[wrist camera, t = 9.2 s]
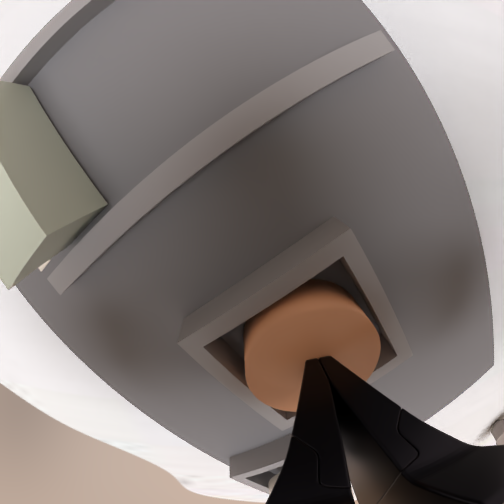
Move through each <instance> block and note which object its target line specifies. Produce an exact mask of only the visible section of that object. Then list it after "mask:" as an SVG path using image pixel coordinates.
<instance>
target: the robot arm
mask: <svg viewBox="0 0 504 504" xmlns="http://www.w3.org/2000/svg"><path fill="white" fill-rule="evenodd" d="M350 481H351V483H350ZM351 484H352V487H353V489H354V492H355V495H356V498H357V500H358V503H359V504H504V445H494V446H474V445H470V444H467V443H464V442H462V441H460V440H458V439H456V438H454V437H452V436H450V435H448V434H446V433H444V432H442V431H440V430H438V429H436V428H434V427H432V426H430V425H428V424H426V423H425V422H423V421H421V420H420V419H418V418H417V417H415V416H414V415H412V414H410V413H409V412H408V411H406V410H405V409H403V408H402V409H401V407H400V406H399V405H398V404H396V403H395V402H393V401H392V400H390V399H389V398H388V397H386V396H385V395H384V394H382V393H381V392H379V391H378V390H377V389H375V388H374V387H372V386H371V385H370V384H368V383H367V382H366V381H364V380H363V379H361V378H360V377H359V376H357V375H356V374H355V373H353V372H352V371H351V370H349V369H348V368H347V367H345V366H344V365H343V364H341V363H340V362H339V361H337V360H336V359H335V358H333V357H332V356H325V357H320V358H319V359H317V358H314V359H309V360H306V361H305V367H304V373H303V378H302V384H301V389H300V395H299V400H298V405H297V410H296V415H295V420H294V425H293V430H292V434H291V438H290V443H289V447H288V451H287V454H286V458H285V461H284V464H283V466H282V469H281V471H280V474H279V476H278V478H277V481H276V483H275V485H274V487H273V489H272V491H271V493H270V495H269V498H268V500H267V502H266V504H355V502H354V499H353V494H352V490H351Z"/></svg>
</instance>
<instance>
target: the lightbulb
mask: <svg viewBox="0 0 504 504" xmlns="http://www.w3.org/2000/svg"><path fill="white" fill-rule="evenodd" d="M491 433H492V435H493V436H494V438H495V440H496V444H497V445H504V419H503V420H501V421H499V420H498V421H497V422H495V424H494V425H493V429H492V431H491Z"/></svg>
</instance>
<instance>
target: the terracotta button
mask: <svg viewBox="0 0 504 504" xmlns="http://www.w3.org/2000/svg"><path fill="white" fill-rule="evenodd" d="M243 342H244V360H245V377H246V381H247V385H248V387H249V389H250V391H251V392H252V393H253V395H254V396H255V397H256V398H257V399H258V400H260V401H261V402H263V403H264V404H266V405H268V406H270V407H273V408H275V409H279V410H283V411H290V412H296V410H297V405H298V400H299V395H300V389H301V384H302V378H303V373H304V367H305V361H306V360H309V359H314V358H317V359H319V358H320V357H325V356H332V357H333V358H335V359H336V360H337V361H339V362H340V363H341V364H343V365H344V366H345V367H347V368H348V369H349V370H351V371H352V372H353V373H355V374H356V375H357V376H359V377H360V378H361V379H363V380H364V381H367V380H368V378H369V377H370V376H371V374H372V373H373V371H374V369H375V367H376V365H377V363H378V360H379V356H380V350H381V343H380V337H379V334H378V332H377V330H376V328H375V327H374V325H373V324H372V322H371V321H370V320H369V318H368V317H367V316H366V314H365V313H364V312H363V310H362V309H361V307H360V306H359V305H358V303H357V302H356V301H355V299H354V298H353V297H352V295H351V294H350V293H349V292H348V291H347V290H345V289H344V288H342V287H341V286H339V285H337V284H335V283H332V282H329V281H325V280H318V279H309V280H308V281H307V282H305V283H304V284H302V285H301V286H299V287H298V288H296V289H295V290H293V291H292V292H290V293H289V294H287V295H285V296H284V297H282V298H281V299H279V300H278V301H276V302H275V303H273V304H272V305H270V306H269V307H267V308H265V309H264V310H262V311H261V312H259V313H258V314H256V315H254V316H253V317H251V318H250V319H248V320H246V322H245V326H244V332H243Z"/></svg>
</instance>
